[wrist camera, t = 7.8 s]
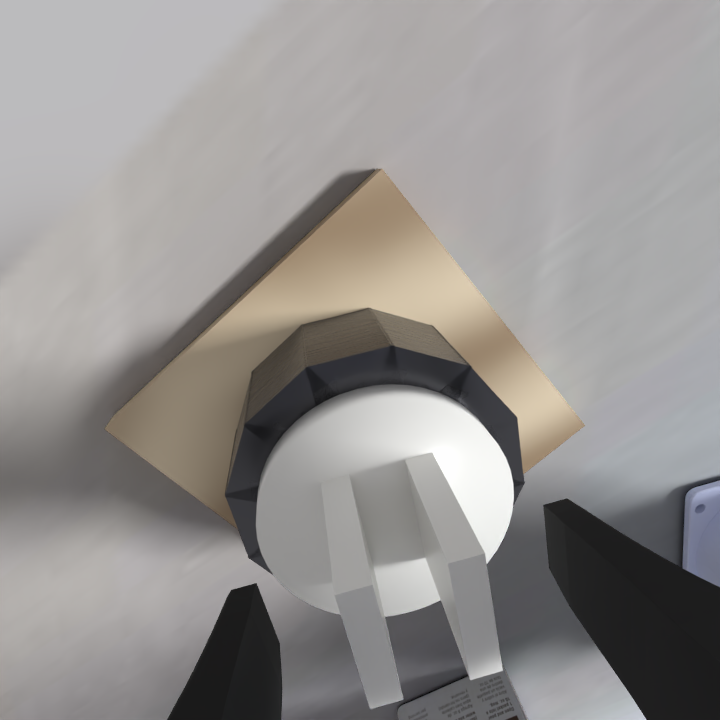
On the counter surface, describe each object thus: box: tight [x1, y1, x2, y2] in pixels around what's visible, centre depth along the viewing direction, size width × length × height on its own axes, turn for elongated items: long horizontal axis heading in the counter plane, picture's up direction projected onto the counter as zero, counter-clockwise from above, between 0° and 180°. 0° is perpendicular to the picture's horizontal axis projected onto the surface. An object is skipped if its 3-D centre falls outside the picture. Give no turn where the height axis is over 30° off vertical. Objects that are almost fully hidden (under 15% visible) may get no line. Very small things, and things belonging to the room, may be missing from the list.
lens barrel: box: [225, 308, 525, 575], centre depth 17 cm, size 9×9×4 cm
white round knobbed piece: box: [256, 384, 514, 709], centre depth 14 cm, size 8×8×6 cm
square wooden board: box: [105, 169, 585, 529], centre depth 20 cm, size 13×13×1 cm
